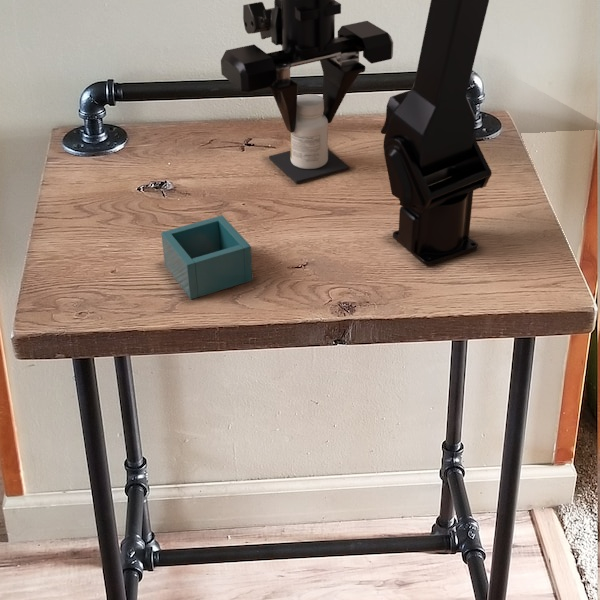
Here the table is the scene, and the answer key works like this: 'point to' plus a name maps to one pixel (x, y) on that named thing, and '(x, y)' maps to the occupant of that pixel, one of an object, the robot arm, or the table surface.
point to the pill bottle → (309, 133)
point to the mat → (305, 175)
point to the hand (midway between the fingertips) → (309, 126)
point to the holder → (207, 256)
